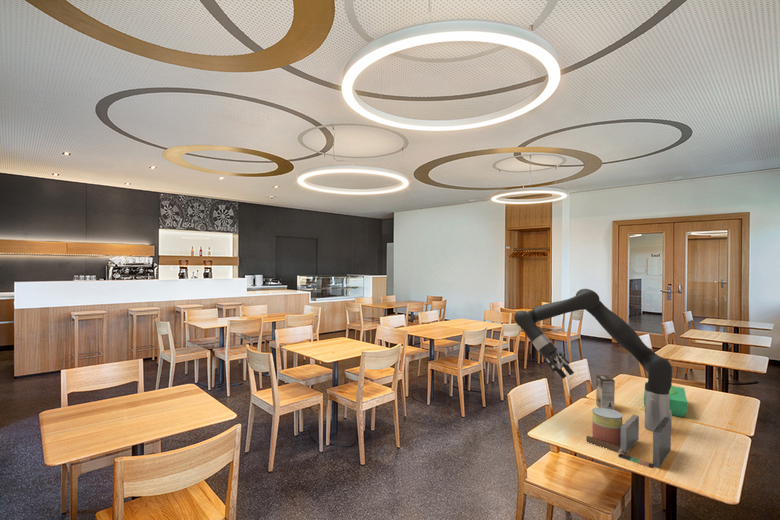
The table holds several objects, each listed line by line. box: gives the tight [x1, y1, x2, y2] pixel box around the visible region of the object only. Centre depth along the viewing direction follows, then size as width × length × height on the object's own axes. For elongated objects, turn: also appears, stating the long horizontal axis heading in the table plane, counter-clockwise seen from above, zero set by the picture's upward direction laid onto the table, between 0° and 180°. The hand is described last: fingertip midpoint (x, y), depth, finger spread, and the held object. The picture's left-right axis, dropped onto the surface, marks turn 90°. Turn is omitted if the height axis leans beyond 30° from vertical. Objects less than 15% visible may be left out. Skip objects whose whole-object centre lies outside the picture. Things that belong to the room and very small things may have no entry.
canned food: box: [591, 407, 624, 448], centre depth 163 cm, size 11×11×12 cm
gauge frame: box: [586, 417, 672, 469], centre depth 157 cm, size 26×22×13 cm
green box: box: [643, 381, 688, 418], centre depth 200 cm, size 18×12×35 cm
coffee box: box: [595, 374, 616, 410], centre depth 201 cm, size 9×6×16 cm
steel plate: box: [617, 414, 640, 455], centre depth 156 cm, size 2×21×10 cm, turn 134°
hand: (568, 375), depth 175 cm, fingers open, 8 cm apart
